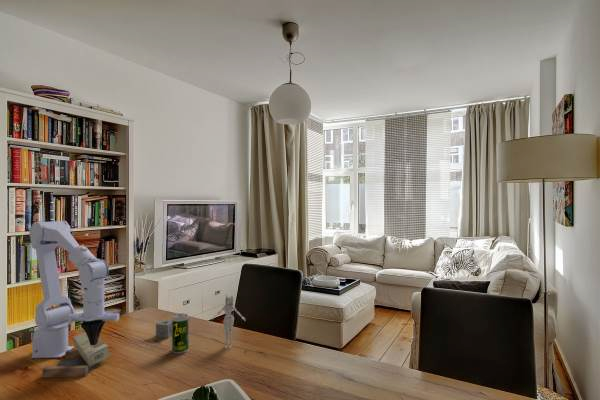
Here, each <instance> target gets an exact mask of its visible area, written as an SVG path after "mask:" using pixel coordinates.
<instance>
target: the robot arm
mask: <svg viewBox="0 0 600 400" xmlns="http://www.w3.org/2000/svg"><path fill="white" fill-rule="evenodd" d="M28 233H29V237H30V238H29V239H30V244H31V248H32V249H34V250H35V253H36V258H37V266H38V272H39V277H40V284H41V285H40V286H41V291H42V295H43V299H42V300H41V302H39V304H37V305H36V306H35V316H34V321H35V325H36V326H37V328H36V329H35V330H34V332H33V334H32V355H31V359H41V358H42V359H43V358H44V359H47V358H48V359H50V358H62V357H63V356H66V355H65V352H66V351H67V350H74V348H75V345H69V325H71V323H72V322H83V323H82V324H81V328H82V330H83V332H86V334H87V336H88V339H89V342H90V345H96V344H97V343H98V339H99V337H100V334H101V332H102V331H103V330H102V329H103V328H104V325H105V324H106V322H109V321H110V322H112V321H113V322H118V321H119V320H120V313H119V312H108V311H105V279H106V278H107V277H108V275H109V273H110V269H109V265H108V263H107V262H106V260H104V259H100V258H97V257H96V256H95V255H93V253H92V252H91V251H90V250H89V249H88V247H87V246H84V245H80V244H79V243H78V241H77V240H76V239H75V237H74V236H73V235H72V233H71V225H69V223H68V221H66V220H63V219H62V220H56V221H55V220H54V221H53V220H52V221H43V222H42V221H41V222H40V221H36V222H33V223H32V225H31V227H30V229H29V232H28ZM58 246H59V247H60V246H61V247H62V248H63V249H64V250H66V252H68V259H69V260H70V262H71V263H72V264H73V265H74V266H75V268H76V269H77V270H78V278H79V279H80V286H81V287H82V290H83V291H82V292H83V293H82V295H83V296H82V298H83V299H82V305H83V306H82V307H83V308H82V309H83V310H82V312H80V313H75V308H74V306H73V305H72V300H71V299H70V298H69V297H67V296H65V295H63V293H62V285H61V280H60V275H59V269H58V264H57V263H58V262H57V258H56V257H57V256H56V252H55V250H56V248H58Z"/></svg>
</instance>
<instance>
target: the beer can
mask: <svg viewBox="0 0 600 400" xmlns="http://www.w3.org/2000/svg"><path fill="white" fill-rule="evenodd" d="M171 320H172V336H171V351H172V353H174V354H176V355H178V354H184V353H187V352H188V351H189V343H190V342H189V327H190V325H189V321H190V320H189V316H188V313H176V314H174V315H173V316H172V319H171Z"/></svg>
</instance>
